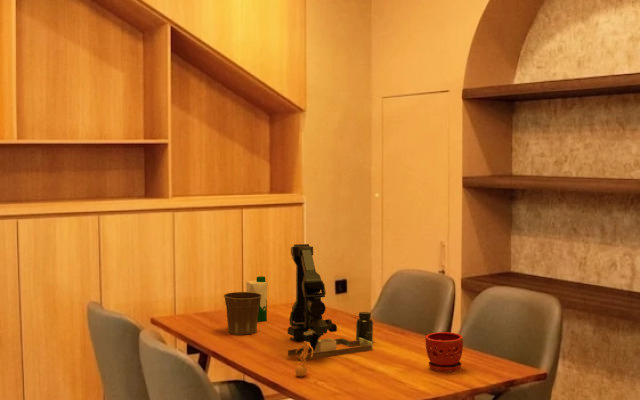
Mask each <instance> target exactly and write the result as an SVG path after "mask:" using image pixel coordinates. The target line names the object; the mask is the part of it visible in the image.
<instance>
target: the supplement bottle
mask: <svg viewBox="0 0 640 400" xmlns="http://www.w3.org/2000/svg"><path fill="white" fill-rule="evenodd" d="M371 318H372V314H371V312H369V311H359V313H358V319H357V320H356V322H355V323H356V325H355V327H356V328H355V341H356V340H359V338H363V339H365V340H368V341H370V342H374V339H373V338H374V321H373V320H372V319H371Z"/></svg>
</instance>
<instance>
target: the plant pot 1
mask: <svg viewBox="0 0 640 400" xmlns="http://www.w3.org/2000/svg"><path fill="white" fill-rule="evenodd" d="M261 297H262V295H261V294H259V293H253V292H246V291H236V292H228V293H225V294H224V295H223V298H224V302H225V306H226V317H227V331H228V333H230V334H231V335H235V336H245V335H253V334H256V333H257V331H258V330H257V329H258V323H259V322H258V312H259V305H260V300H261Z"/></svg>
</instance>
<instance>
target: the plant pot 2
mask: <svg viewBox="0 0 640 400" xmlns="http://www.w3.org/2000/svg"><path fill="white" fill-rule="evenodd" d="M425 349H426V355H427V357H428V360H429V362H428V366H429V367H430V369H432V370H433V371H436V372H442V373H443V372H444V373H445V372H446V373H450V372H454V371H457V370H459V369H460V368H461V367H462V363H461V359H462V356H463V349H464V339H463V336H462V335H461V334H459V333H456V332H448V331H447V332H446V331H442V332H440V331H439V332H438V331H437V332H431V333H428V334H426V335H425Z"/></svg>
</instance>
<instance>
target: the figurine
mask: <svg viewBox="0 0 640 400" xmlns="http://www.w3.org/2000/svg"><path fill="white" fill-rule="evenodd" d="M302 344H303V345H302ZM302 344H300V345H299V346H298V348H296V349H297V351H298V350H299V349H300V348H302V346H303V349H304V351H302V354H299V355H300V359H301V360H302V361H300V363H299V364H298V365H297V366H296V367H295V375H296V376H298V377H300V378H301V377H305V376H306V374H307V371H308V370H307V367H306V366H305V365H306V362H307V360H306V359H305V358H306V357H307V355H308V354H309V353H308V350H309V348H311V349H312V352H311V353H312V355H311V358H312V357H313V353H314V352H313V348H312V347H311V345H310V343H309V342H307V341H303V343H302ZM297 351H296V352H297ZM302 357H303V359H302Z"/></svg>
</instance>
